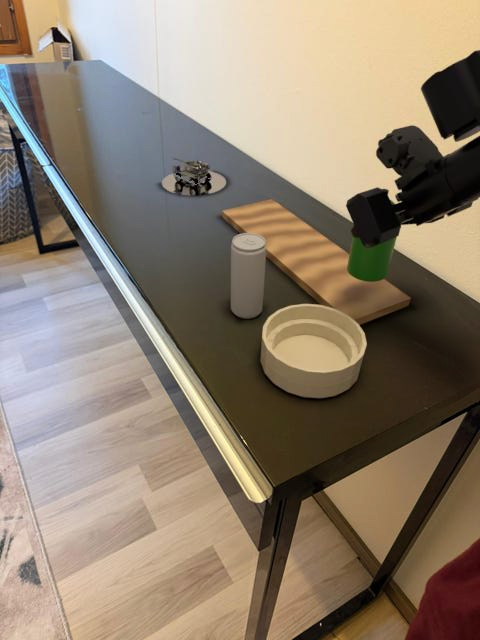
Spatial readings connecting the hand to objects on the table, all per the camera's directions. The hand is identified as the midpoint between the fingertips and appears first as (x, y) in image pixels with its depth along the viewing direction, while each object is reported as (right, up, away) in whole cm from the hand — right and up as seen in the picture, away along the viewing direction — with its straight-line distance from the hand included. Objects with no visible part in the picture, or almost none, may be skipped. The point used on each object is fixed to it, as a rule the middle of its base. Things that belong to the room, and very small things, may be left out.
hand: (368, 227), depth 64 cm
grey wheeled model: (-29, +19, +43) cm, 55 cm away
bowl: (-9, -19, -3) cm, 21 cm away
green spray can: (+1, -6, +3) cm, 7 cm away
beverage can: (-17, -12, +6) cm, 21 cm away
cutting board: (-7, -1, +18) cm, 20 cm away
